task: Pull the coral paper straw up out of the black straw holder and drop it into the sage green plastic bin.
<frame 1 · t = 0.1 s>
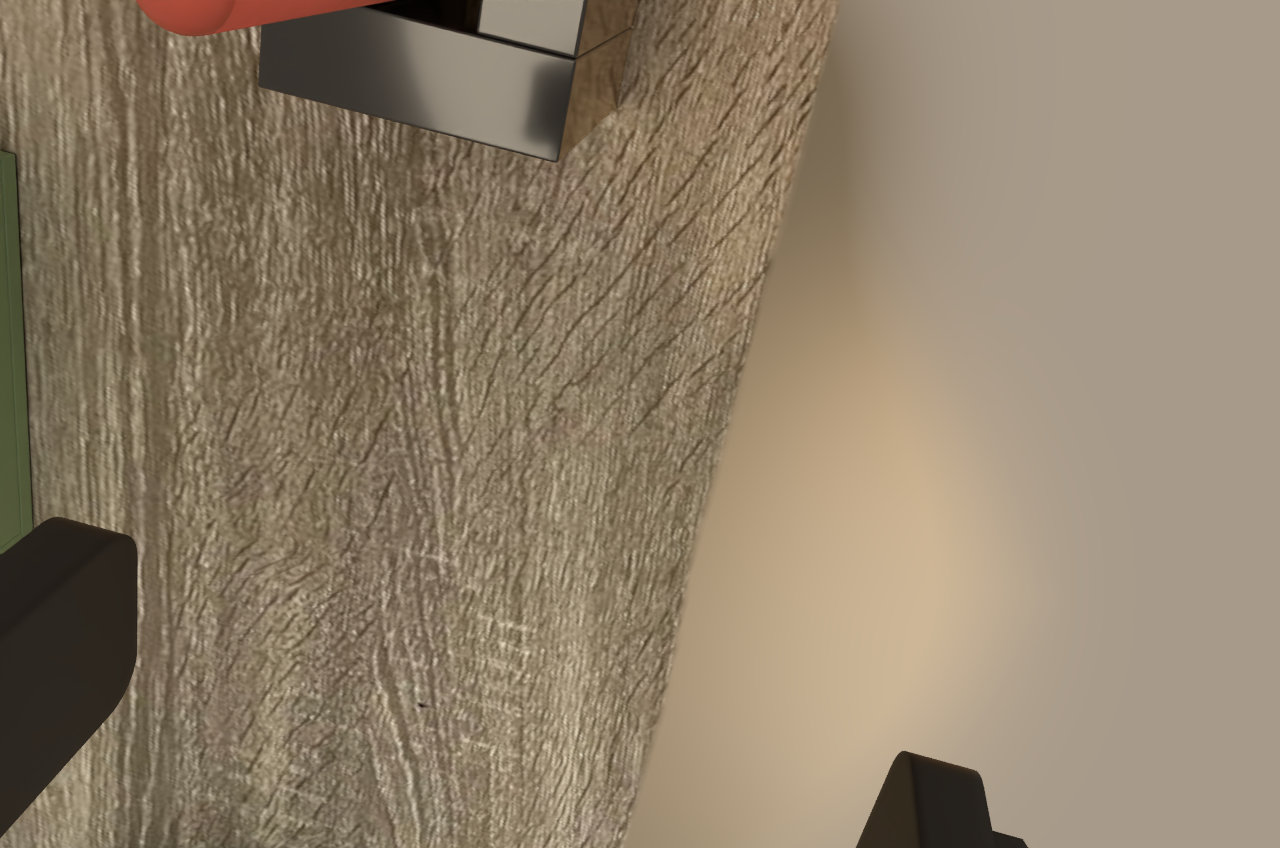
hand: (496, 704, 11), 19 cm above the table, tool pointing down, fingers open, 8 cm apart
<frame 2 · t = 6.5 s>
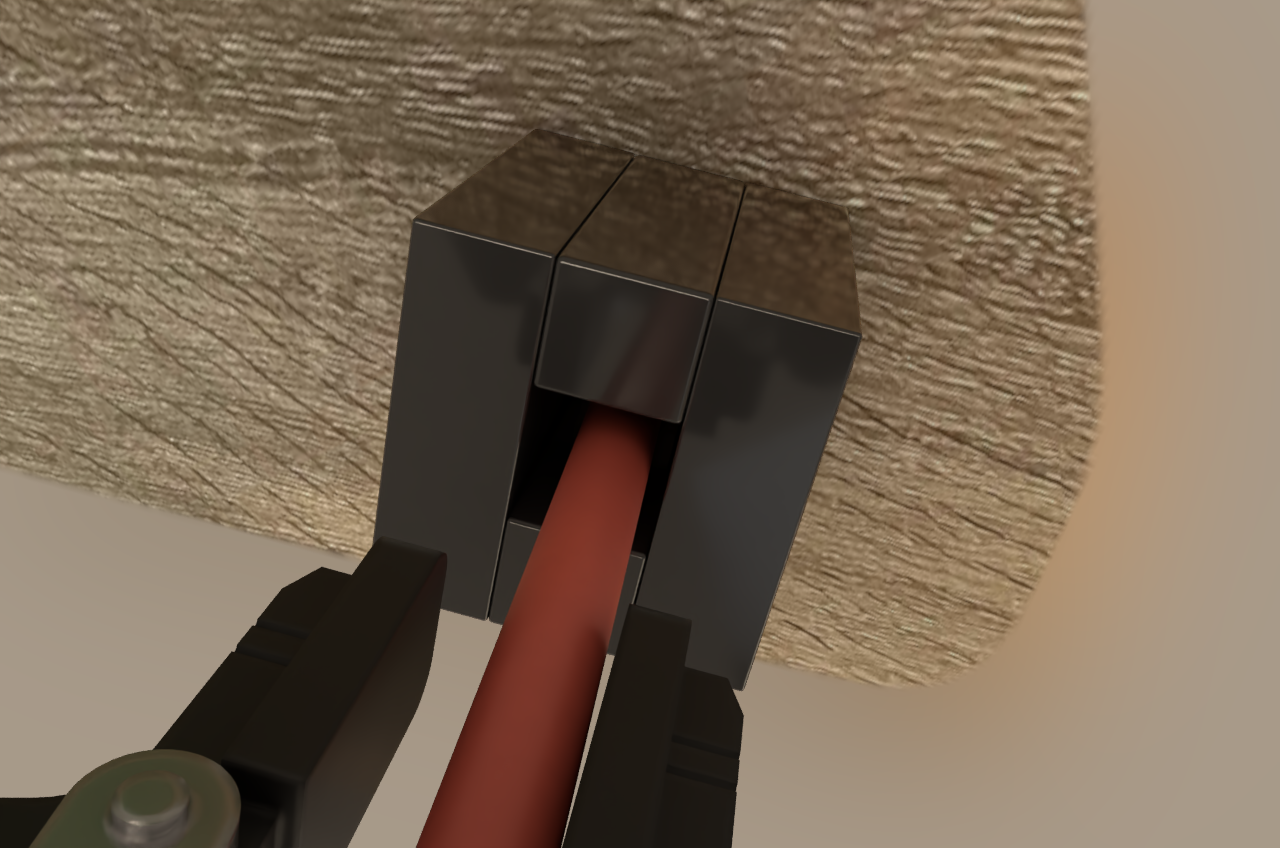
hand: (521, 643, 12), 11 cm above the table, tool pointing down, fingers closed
straw: (595, 509, 15), in the holder
holder: (655, 315, 22), on the table
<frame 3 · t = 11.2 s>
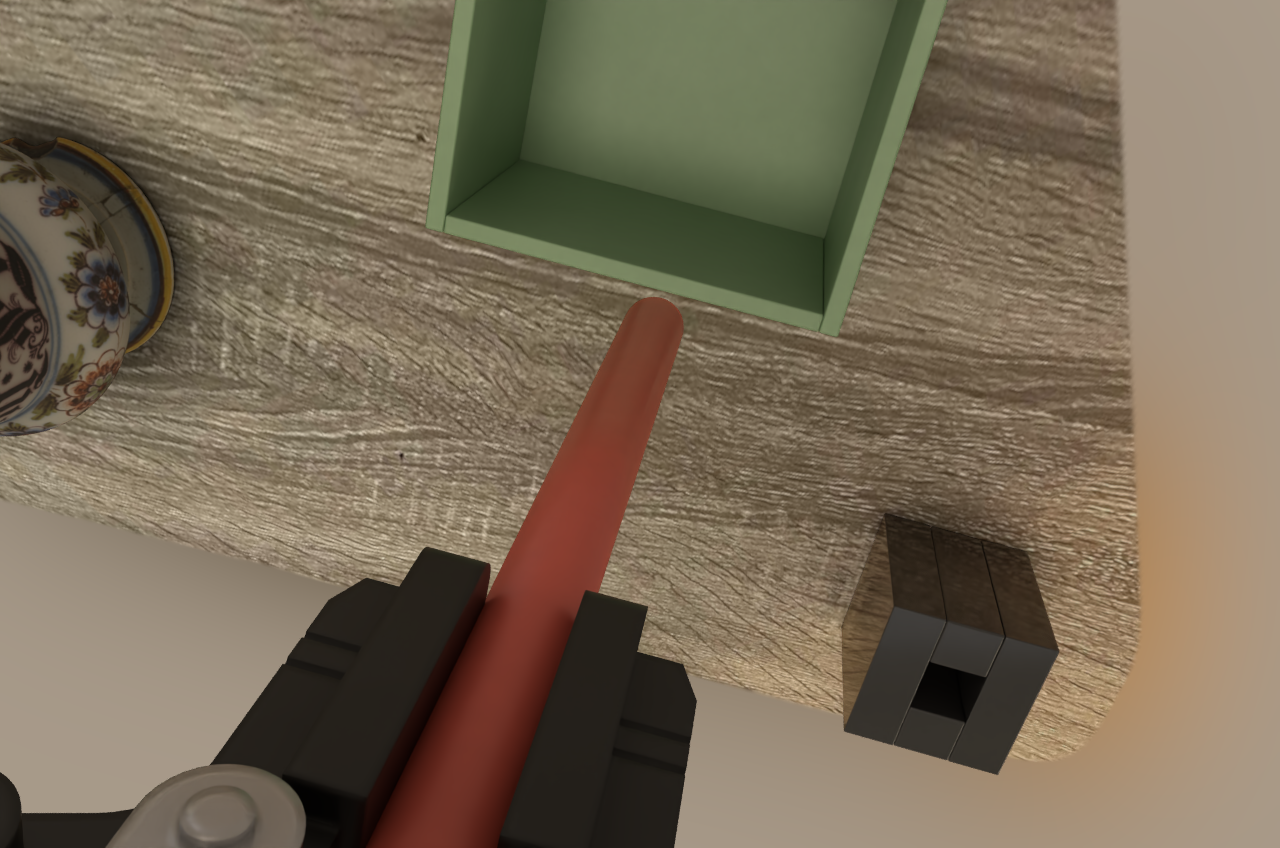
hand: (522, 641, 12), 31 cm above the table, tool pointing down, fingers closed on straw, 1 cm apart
apothecary jar: (71, 248, 47), on the table
straw: (580, 506, 15), point 28 cm above the table, touching gripper
holder: (931, 590, 47), on the table
bin: (704, 62, 39), on the table
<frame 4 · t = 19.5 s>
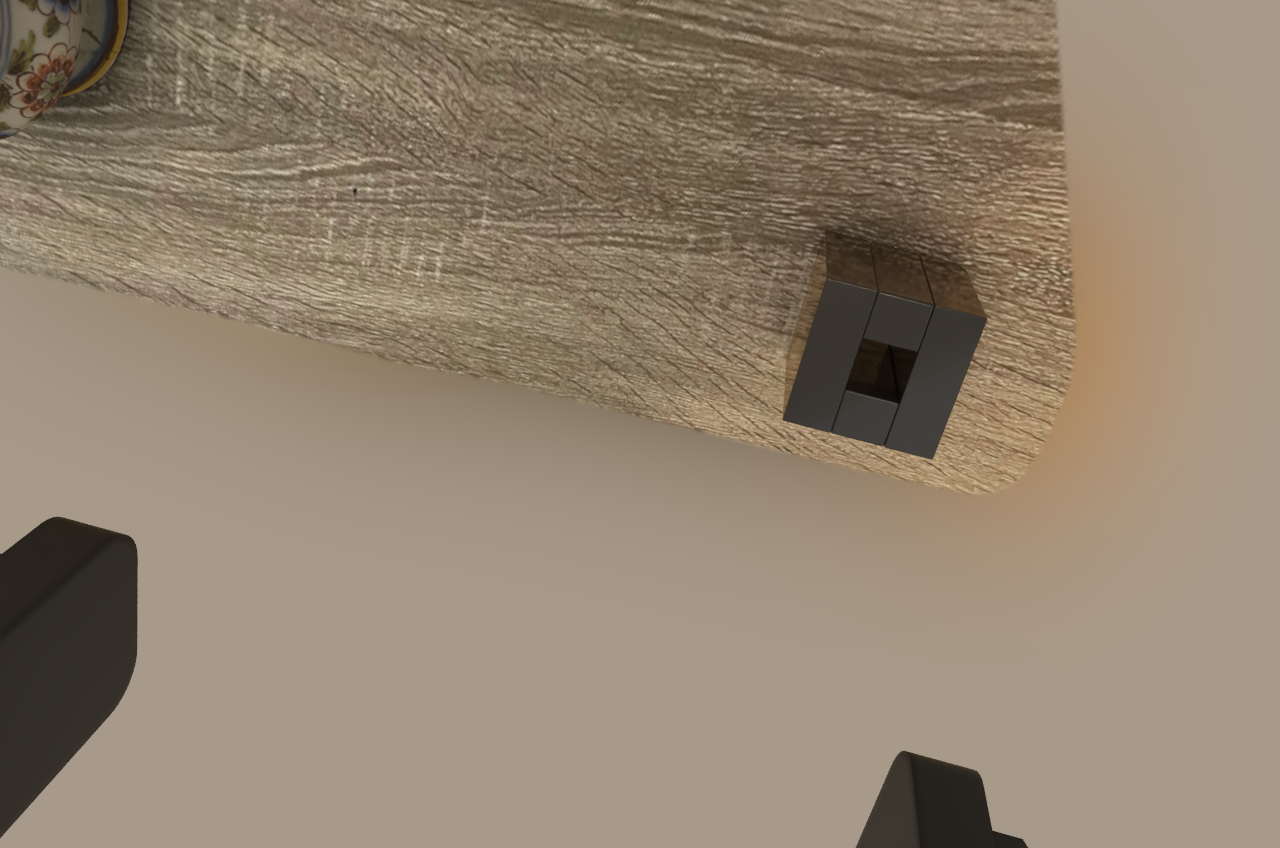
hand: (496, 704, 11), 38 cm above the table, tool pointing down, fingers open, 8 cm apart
holder: (872, 312, 48), on the table
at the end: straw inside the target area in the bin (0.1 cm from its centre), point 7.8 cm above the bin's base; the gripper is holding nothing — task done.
